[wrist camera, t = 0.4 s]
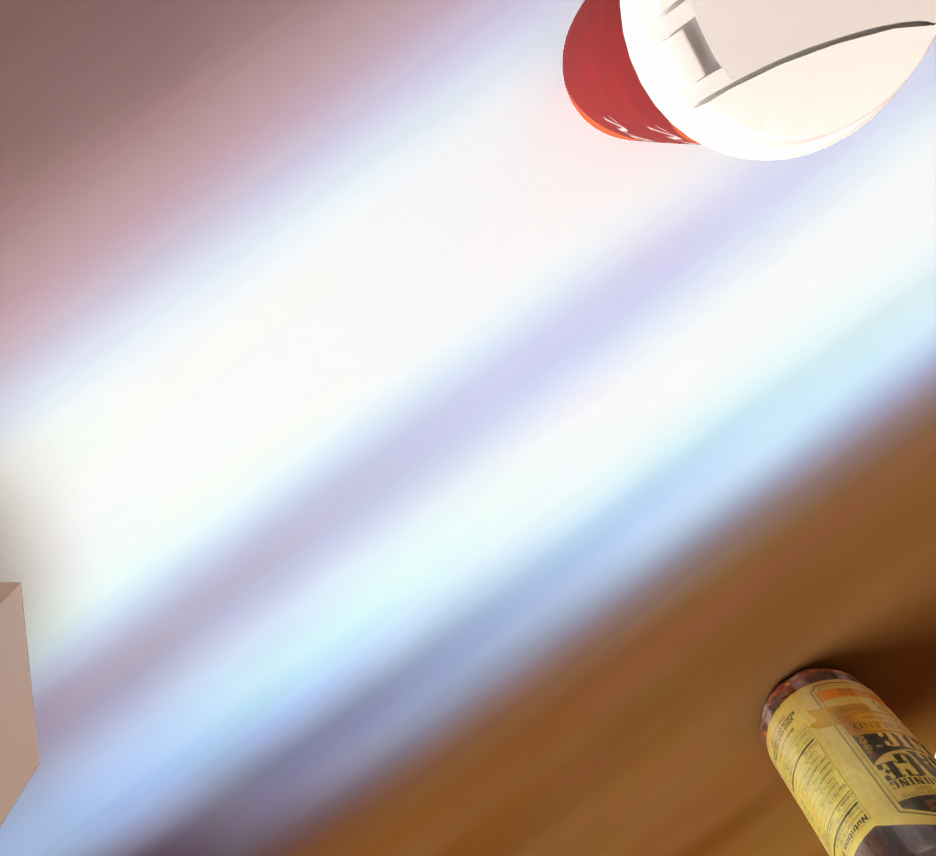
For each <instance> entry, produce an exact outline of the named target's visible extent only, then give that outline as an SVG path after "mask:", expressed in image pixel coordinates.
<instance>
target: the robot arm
mask: <svg viewBox="0 0 936 856" xmlns="http://www.w3.org/2000/svg"><path fill="white" fill-rule="evenodd" d="M935 758H936V754H935ZM39 764H40V763H39V754H38V744H37V734H36V725H35V715H34V706H33V696H32V686H31V677H30V667H29V658H28V648H27V638H26V629H25V619H24V609H23V600H22V590H21V583H5V582H0V827H1V825H2V824H3V822H4V820H5V819H6V817H7V815H8V814H9V812H10V811H11V809H12V807H13V806H14V804H15V802H16V801H17V799H18V798H19V796H20V794H21V793H22V791H23V790H24V788H25V786H26V785H27V783H28V781H29V780H30V778H31V777H32V775H33V773H34V772H35V770H36V768H37V767H38V765H39Z"/></svg>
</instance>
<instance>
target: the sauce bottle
mask: <svg viewBox="0 0 936 856" xmlns="http://www.w3.org/2000/svg"><path fill="white" fill-rule="evenodd" d="M760 733H761V738H762V740H763V742H764V743H765V744H766V746H767V748H768V752H769V755H770V758H771V760H772V762H773V763H774V765H775V767H776V768H777V770H778V772H779V773H780V775H781V776H782V778H783V780H784V781H785V783H786V785H787V786H788V788H789V790H790V791H791V793H792V794H793V796H794V798H795V799H796V801H797V803H798V804H799V806H800V808H801V809H802V811H803V812H804V814H805V816H806V817H807V819H808V821H809V822H810V824H811V825H812V827H813V829H814V830H815V832H816V834H817V835H818V837H819V839H820V840H821V842H822V844H823V845H824V847H825V849H826V850H827V852H828V854H829V855H830V856H936V759H935V758H934V757H933V756H932V755H931V754H930V753H929V752H928V751H927V750H926V748H925V747H924V746H923V745H922V744H921V743H920V742H919V741H918V740H917V739H916V737H915V736H914V735H913V734H912V733H911V732H910V731H909V730H908V729H907V728H906V726H905V725H904V724H903V723H902V722H901V721H900V720H899V719H898V718H897V717H896V715H895V714H894V713H893V712H892V711H891V710H890V709H889V708H888V707H887V706H886V705H885V703H884V702H883V701H882V700H881V699H880V698H879V697H878V696H877V695H876V694H875V693H874V692H873V691H872V690H870V689H869V688H867V687H865V686H864V684H862V683H861V682H860V681H859V680H858V679H856V678H855V677H854V676H852V675H851V674H849V673H845V672H842V671H839V670H834V669H827V668H825V669H818V668H813V669H806V670H803V671H801V672H798V673H797V674H795V675H794V676H793V677H792V678H790V679H787V680H786V681H784V682H783V683H782V684H780V685H778V686H777V687H776V689H775V690H774V691H773V692H772V694H771V695H770V696H769V698H768V699H767V702H766V703H765V705H764V709H763V713H762V714H761V723H760Z"/></svg>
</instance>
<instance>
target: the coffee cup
mask: <svg viewBox="0 0 936 856" xmlns="http://www.w3.org/2000/svg"><path fill="white" fill-rule="evenodd" d="M935 24H936V0H585V1H584V3H583V4H582V6H581V8H580V9H579V11H578V13H577V14H576V16H575V18H574V20H573V22H572V24H571V26H570V29H569V31H568V34H567V37H566V41H565V45H564V51H563V76H564V81H565V85H566V89H567V92H568V94H569V97H570V99H571V101H572V103H573V105H574V106H575V108H576V109H577V111H578V112H579V113H580V114H581V116H582V117H583V118H584V119H585V120H586V121H587V122H588V123H590V124H591V125H592V126H593V127H595V128H596V129H598V130H600V131H601V132H603V133H605V134H608V135H611V136H614V137H617V138H621V139H627V140H635V141H646V142H660V143H678V144H699V145H704V146H705V147H707V148H709V149H711V150H714V151H717V152H720V153H723V154H726V155H729V156H732V157H736V158H743V159H750V160H757V161H760V160H784V159H789V158H794V157H799V156H804V155H808V154H810V153H813V152H816V151H818V150H821V149H824V148H827V147H829V146H831V145H833V144H835V143H836V142H838V141H840V140H842V139H844V138H845V137H847V136H849V135H851V134H852V133H854V132H855V131H856V130H858V129H859V128H860V127H862V126H863V125H864V124H865V123H867V122H868V121H869V120H871V119H872V118H873V117H874V116H875V115H876V114H877V113H878V112H879V111H880V110H881V109H882V108H883V107H884V106H885V105H886V104H887V103H888V102H889V101H890V100H891V99H892V97H893V96H894V95H895V93H896V92H897V91H898V89H899V88H900V87H901V86H902V85H903V84H904V83H905V82H906V81H907V80H908V78H909V77H910V76H911V74H912V73H913V72H914V70H915V69H916V68H917V66H918V65H919V64H920V62H921V61H922V59H923V58H924V56H925V54H926V52H927V50H928V49H929V47H930V45H931V43H932V42H933V40H934V38H935V36H936V25H935Z"/></svg>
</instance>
